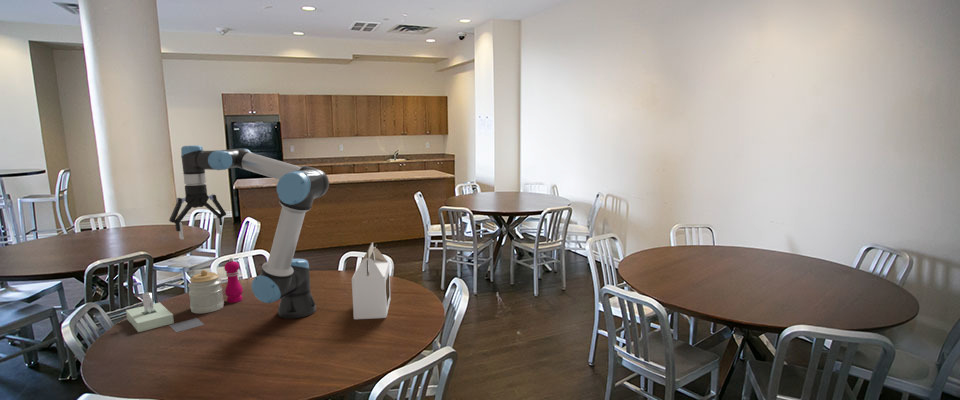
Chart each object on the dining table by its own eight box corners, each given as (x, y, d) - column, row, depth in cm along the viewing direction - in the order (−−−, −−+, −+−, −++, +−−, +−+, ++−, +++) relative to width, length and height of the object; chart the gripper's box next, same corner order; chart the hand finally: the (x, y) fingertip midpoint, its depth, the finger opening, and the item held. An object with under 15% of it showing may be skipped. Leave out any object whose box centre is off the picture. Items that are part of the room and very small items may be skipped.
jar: (194, 317, 205) (190, 276, 202) (187, 308, 215) (183, 269, 212) (228, 309, 213) (224, 270, 211) (220, 301, 223) (216, 263, 220)
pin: (156, 321, 200) (152, 293, 199) (146, 323, 198) (143, 295, 196) (153, 319, 203) (150, 291, 201) (144, 321, 200) (141, 293, 199)
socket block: (174, 323, 198) (172, 314, 197) (138, 333, 189) (137, 323, 189) (160, 311, 212) (159, 302, 211) (127, 319, 203) (126, 310, 202)
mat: (204, 325, 196) (204, 324, 196) (176, 333, 189) (176, 332, 189) (196, 318, 203) (196, 317, 203) (169, 326, 196) (168, 325, 196)
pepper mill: (236, 303, 220) (232, 260, 217) (222, 302, 221) (218, 259, 218) (247, 298, 227) (243, 256, 224) (233, 297, 228) (229, 255, 225)
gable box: (386, 318, 201) (383, 252, 197) (353, 320, 200) (350, 253, 196) (390, 299, 223) (388, 239, 219) (361, 300, 222) (358, 240, 218)
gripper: (225, 180, 207) (229, 229, 210) (156, 186, 189) (162, 240, 193) (231, 182, 202) (236, 232, 205) (161, 188, 184) (168, 243, 188)
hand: (200, 236), depth 199 cm, fingers open, 13 cm apart
